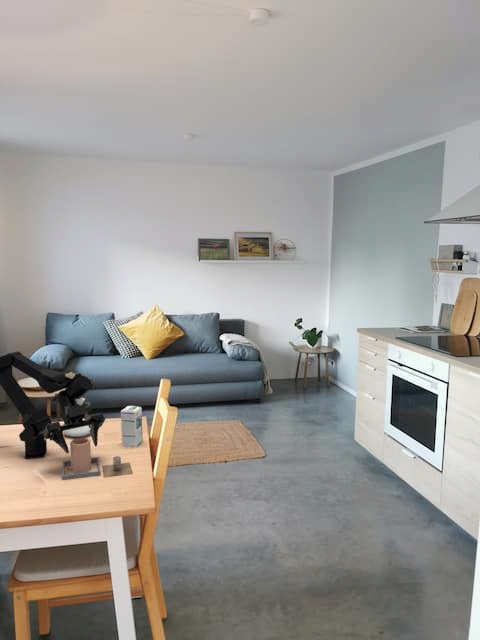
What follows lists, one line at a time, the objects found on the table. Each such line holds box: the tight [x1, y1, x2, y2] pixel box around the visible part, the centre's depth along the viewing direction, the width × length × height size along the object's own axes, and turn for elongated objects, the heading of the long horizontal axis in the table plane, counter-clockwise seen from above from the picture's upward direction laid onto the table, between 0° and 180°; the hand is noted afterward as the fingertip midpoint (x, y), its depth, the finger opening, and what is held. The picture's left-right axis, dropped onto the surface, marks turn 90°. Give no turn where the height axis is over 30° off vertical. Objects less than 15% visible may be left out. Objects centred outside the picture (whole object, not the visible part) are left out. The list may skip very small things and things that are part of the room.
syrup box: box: [120, 405, 144, 448], centre depth 184 cm, size 6×6×14 cm
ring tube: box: [67, 437, 92, 474], centre depth 162 cm, size 7×6×10 cm
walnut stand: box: [101, 455, 134, 478], centre depth 163 cm, size 9×9×5 cm
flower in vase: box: [63, 371, 91, 438], centre depth 194 cm, size 13×11×25 cm
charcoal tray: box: [61, 456, 102, 481], centre depth 162 cm, size 11×11×2 cm
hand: (82, 449), depth 160 cm, fingers open, 9 cm apart
